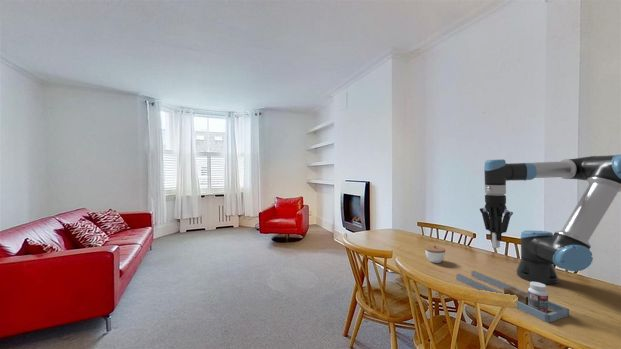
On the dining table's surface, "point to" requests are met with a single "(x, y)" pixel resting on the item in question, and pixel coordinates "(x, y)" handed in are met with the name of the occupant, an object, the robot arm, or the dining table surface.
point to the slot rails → (482, 278)
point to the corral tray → (557, 314)
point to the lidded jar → (435, 253)
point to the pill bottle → (538, 296)
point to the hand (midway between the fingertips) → (496, 247)
